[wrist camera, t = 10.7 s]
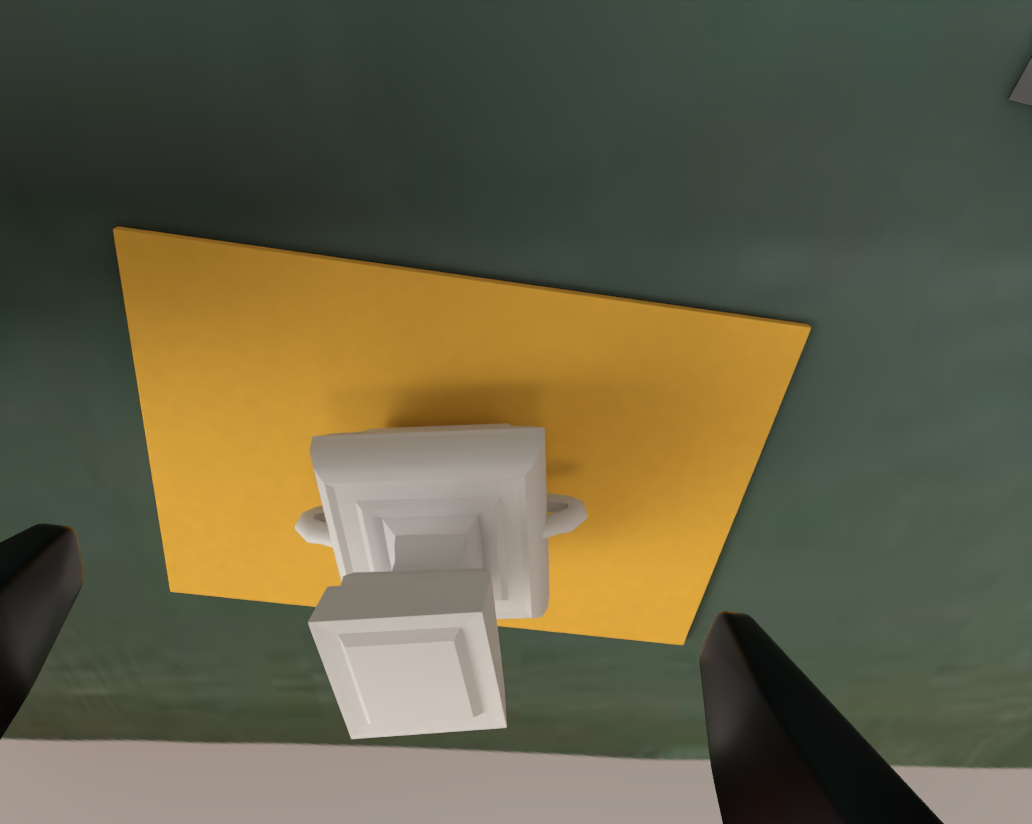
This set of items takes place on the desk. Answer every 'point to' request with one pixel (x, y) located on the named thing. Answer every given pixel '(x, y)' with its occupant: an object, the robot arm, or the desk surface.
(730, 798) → the robot arm
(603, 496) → the cloth
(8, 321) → the desk surface
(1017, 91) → the submachine gun
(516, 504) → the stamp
